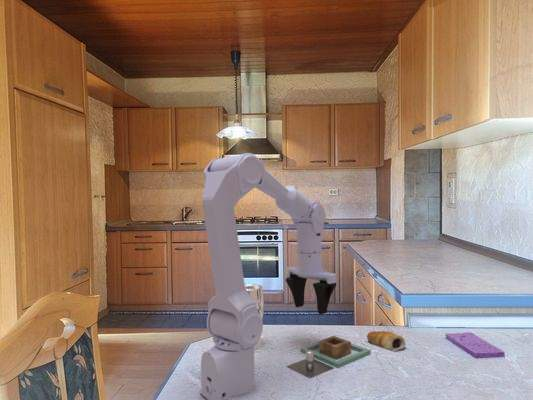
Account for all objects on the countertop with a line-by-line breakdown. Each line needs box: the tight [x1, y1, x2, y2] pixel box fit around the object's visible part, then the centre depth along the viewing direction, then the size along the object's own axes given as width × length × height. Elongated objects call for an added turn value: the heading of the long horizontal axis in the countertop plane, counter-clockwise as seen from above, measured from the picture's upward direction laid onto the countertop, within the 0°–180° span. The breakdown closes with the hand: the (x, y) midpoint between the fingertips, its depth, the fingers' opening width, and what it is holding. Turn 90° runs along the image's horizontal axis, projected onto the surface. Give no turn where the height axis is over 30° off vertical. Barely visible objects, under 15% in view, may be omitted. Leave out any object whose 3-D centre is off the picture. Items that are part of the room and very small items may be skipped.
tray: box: [299, 341, 372, 369], centre depth 82 cm, size 11×11×2 cm
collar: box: [318, 335, 352, 361], centre depth 82 cm, size 5×5×3 cm
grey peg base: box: [286, 350, 335, 379], centre depth 75 cm, size 7×7×4 cm
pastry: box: [366, 330, 406, 353], centre depth 89 cm, size 9×7×4 cm
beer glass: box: [244, 283, 264, 350], centre depth 88 cm, size 7×7×15 cm
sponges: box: [445, 331, 506, 359], centre depth 87 cm, size 7×13×2 cm, turn 2°
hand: (310, 309), depth 86 cm, fingers open, 7 cm apart
